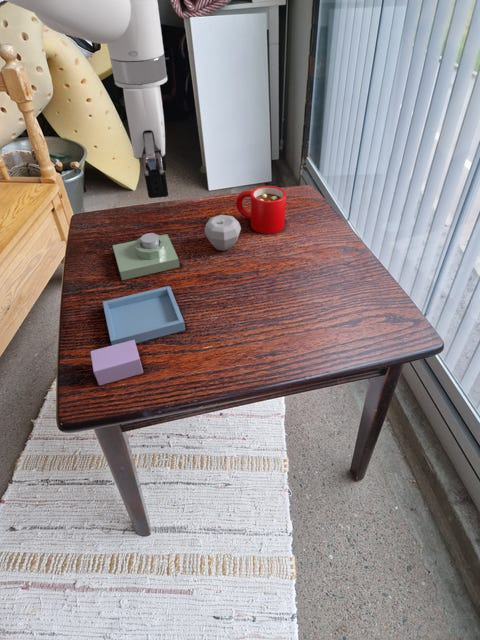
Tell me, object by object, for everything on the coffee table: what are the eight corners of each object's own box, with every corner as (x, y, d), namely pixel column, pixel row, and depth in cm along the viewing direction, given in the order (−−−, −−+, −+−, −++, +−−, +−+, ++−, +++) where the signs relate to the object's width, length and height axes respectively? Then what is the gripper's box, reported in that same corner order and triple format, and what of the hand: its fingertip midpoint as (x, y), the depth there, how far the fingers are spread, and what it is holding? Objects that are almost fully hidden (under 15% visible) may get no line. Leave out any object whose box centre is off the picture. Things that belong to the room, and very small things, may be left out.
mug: (242, 210, 104) (241, 180, 98) (288, 219, 100) (290, 188, 95) (229, 226, 99) (228, 195, 93) (277, 236, 95) (279, 204, 90)
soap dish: (113, 349, 71) (110, 341, 70) (105, 310, 78) (102, 301, 77) (185, 330, 74) (184, 321, 73) (171, 293, 81) (169, 285, 80)
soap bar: (99, 385, 66) (93, 371, 63) (95, 365, 69) (90, 350, 66) (143, 373, 67) (139, 359, 65) (138, 353, 70) (134, 339, 68)
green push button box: (121, 280, 85) (117, 264, 82) (114, 253, 91) (110, 238, 89) (179, 267, 87) (177, 251, 85) (168, 242, 94) (166, 226, 91)
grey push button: (143, 251, 86) (142, 244, 84) (140, 242, 88) (138, 234, 87) (161, 247, 86) (159, 240, 85) (157, 238, 89) (156, 231, 88)
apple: (204, 237, 95) (202, 211, 91) (239, 234, 96) (238, 208, 91) (206, 258, 90) (204, 231, 85) (243, 255, 90) (243, 228, 86)
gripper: (116, 57, 66) (136, 163, 78) (109, 89, 54) (134, 210, 65) (164, 54, 67) (177, 160, 78) (168, 85, 54) (183, 205, 66)
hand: (158, 183), depth 72 cm, fingers open, 9 cm apart
